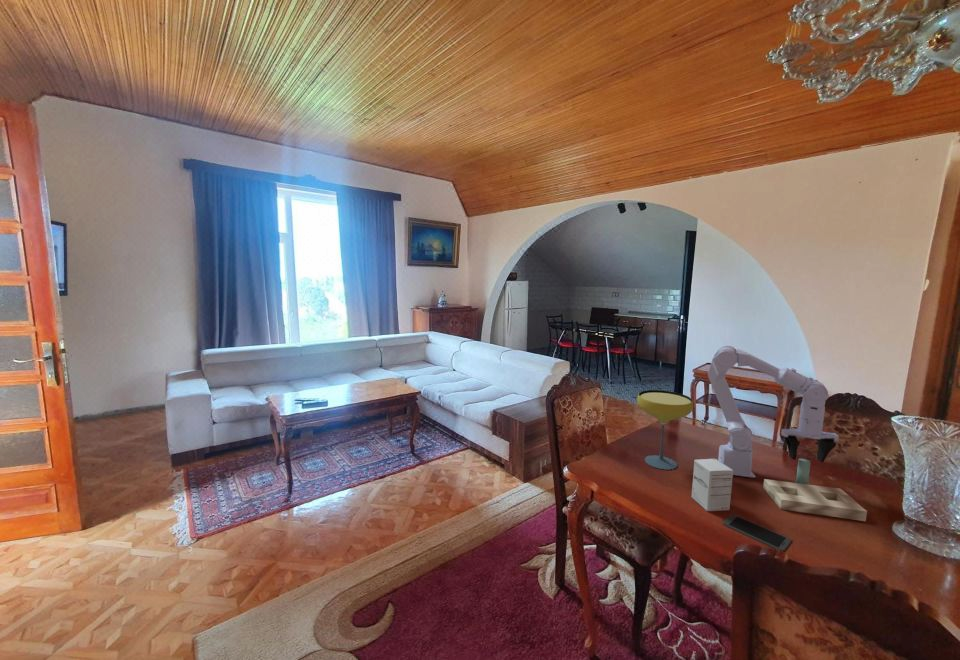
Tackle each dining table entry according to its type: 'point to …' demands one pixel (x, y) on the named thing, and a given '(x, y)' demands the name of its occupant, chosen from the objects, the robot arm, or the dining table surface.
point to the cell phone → (757, 532)
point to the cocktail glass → (664, 417)
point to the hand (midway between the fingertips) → (806, 459)
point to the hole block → (814, 500)
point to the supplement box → (712, 484)
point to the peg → (803, 471)
